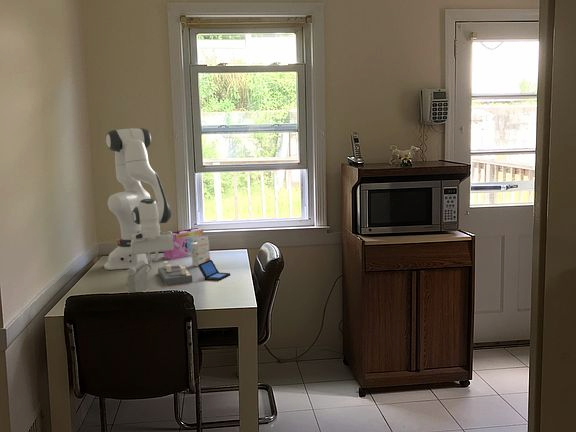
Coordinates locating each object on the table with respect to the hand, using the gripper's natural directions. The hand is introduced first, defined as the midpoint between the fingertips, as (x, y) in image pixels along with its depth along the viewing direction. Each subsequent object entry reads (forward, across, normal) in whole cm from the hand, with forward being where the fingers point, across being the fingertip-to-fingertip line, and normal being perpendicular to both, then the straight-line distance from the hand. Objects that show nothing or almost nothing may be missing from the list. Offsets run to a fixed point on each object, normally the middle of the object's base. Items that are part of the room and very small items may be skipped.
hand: (153, 261), depth 285 cm
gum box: (+7, -22, -42) cm, 48 cm away
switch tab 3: (+5, -11, +15) cm, 19 cm away
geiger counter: (+8, +11, +33) cm, 36 cm away
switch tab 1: (+4, -6, -1) cm, 7 cm away
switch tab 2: (+4, -6, +7) cm, 10 cm away
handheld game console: (+9, -26, +16) cm, 31 cm away
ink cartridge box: (+8, -26, -15) cm, 31 cm away
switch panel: (+8, -8, +7) cm, 13 cm away
